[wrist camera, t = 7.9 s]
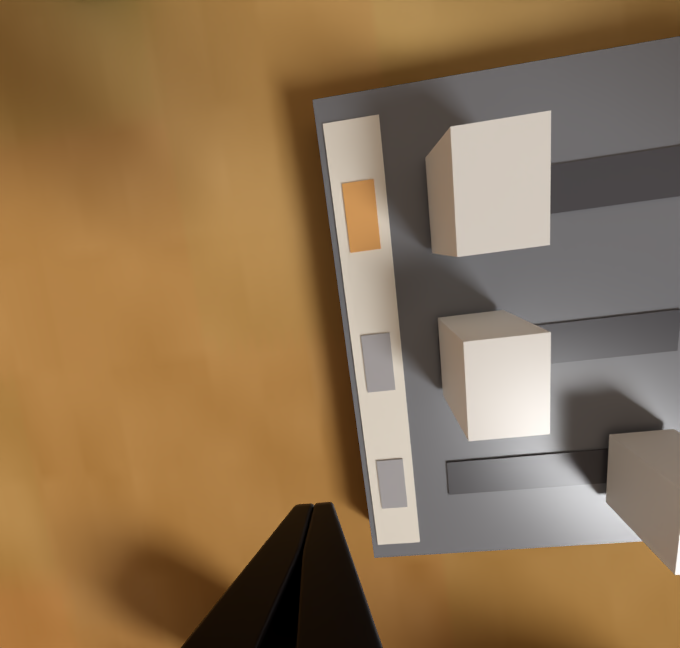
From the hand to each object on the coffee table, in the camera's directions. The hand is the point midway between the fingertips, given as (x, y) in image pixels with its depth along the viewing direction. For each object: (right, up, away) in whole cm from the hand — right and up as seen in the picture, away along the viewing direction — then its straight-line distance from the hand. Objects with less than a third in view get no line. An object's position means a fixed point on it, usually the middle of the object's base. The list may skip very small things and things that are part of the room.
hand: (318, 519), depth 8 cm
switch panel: (+10, +4, +11) cm, 15 cm away
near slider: (+6, +10, +7) cm, 13 cm away
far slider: (+16, -3, +10) cm, 19 cm away
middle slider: (+7, +3, +9) cm, 11 cm away
